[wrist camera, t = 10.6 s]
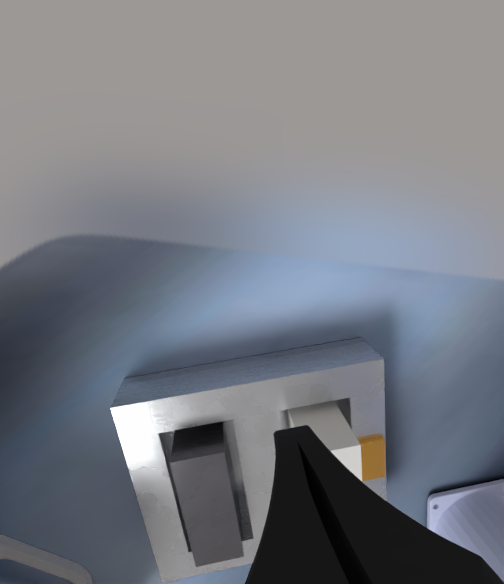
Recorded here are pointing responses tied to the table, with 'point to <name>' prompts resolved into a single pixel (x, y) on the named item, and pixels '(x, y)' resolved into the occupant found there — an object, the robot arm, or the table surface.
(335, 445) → the rectangular block
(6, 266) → the table surface
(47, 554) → the network device
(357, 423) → the rack
